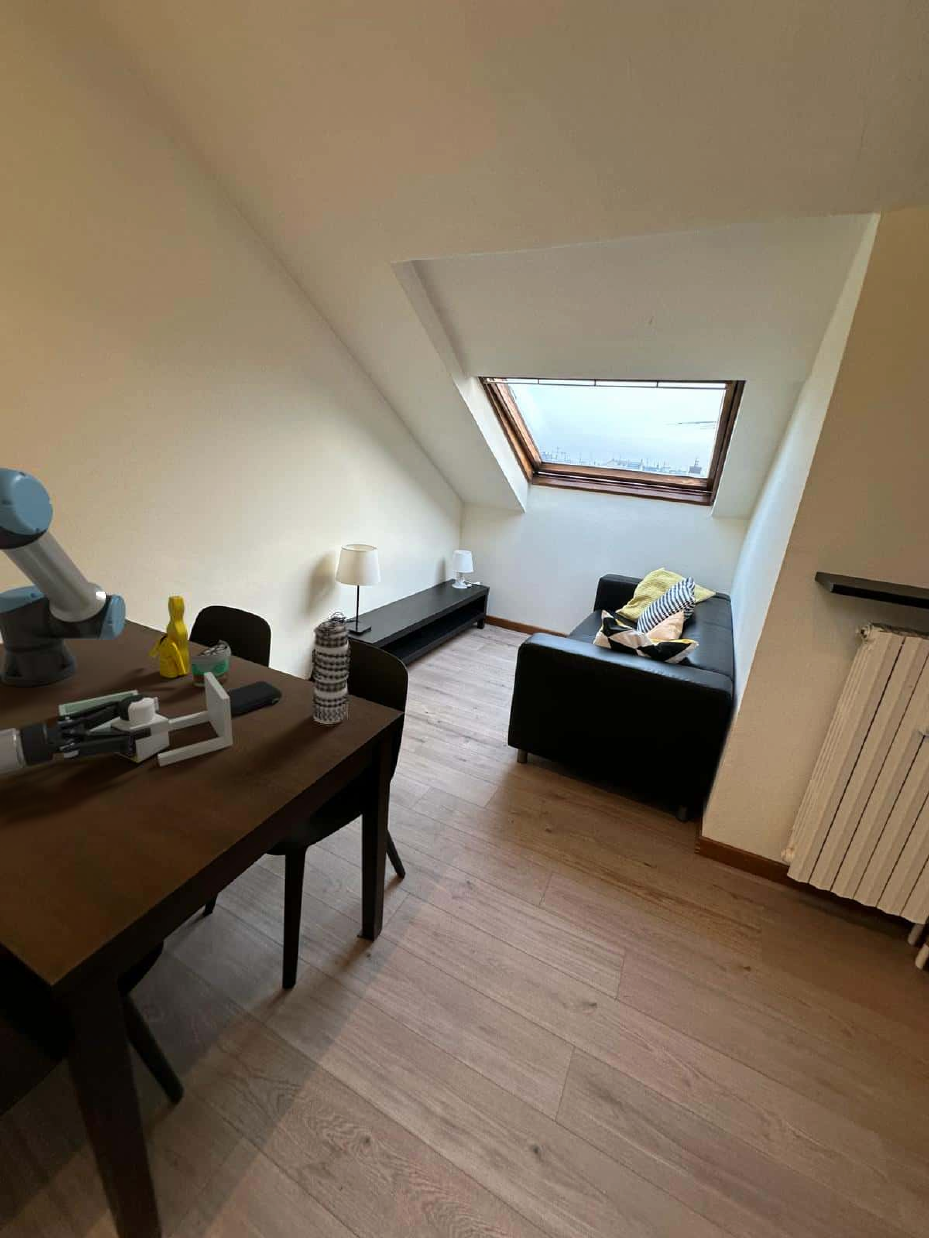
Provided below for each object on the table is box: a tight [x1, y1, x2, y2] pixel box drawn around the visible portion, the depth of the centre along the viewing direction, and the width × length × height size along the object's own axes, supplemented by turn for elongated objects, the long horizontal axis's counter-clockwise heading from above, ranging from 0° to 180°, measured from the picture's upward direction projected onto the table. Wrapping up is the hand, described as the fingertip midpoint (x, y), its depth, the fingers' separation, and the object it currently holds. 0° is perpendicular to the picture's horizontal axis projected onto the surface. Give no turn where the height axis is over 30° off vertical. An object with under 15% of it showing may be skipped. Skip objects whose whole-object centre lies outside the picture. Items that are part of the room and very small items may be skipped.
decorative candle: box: [311, 620, 352, 724], centre depth 119 cm, size 9×9×25 cm
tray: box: [58, 689, 139, 732], centre depth 111 cm, size 15×15×2 cm
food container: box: [189, 639, 232, 690], centre depth 131 cm, size 12×6×10 cm, turn 168°
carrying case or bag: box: [225, 680, 283, 717], centre depth 125 cm, size 11×3×15 cm
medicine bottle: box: [110, 694, 170, 763], centre depth 100 cm, size 7×7×12 cm
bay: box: [157, 672, 234, 767], centre depth 106 cm, size 14×14×12 cm
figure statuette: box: [148, 595, 191, 679], centre depth 132 cm, size 18×8×22 cm, turn 58°
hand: (163, 713), depth 103 cm, fingers closed on medicine bottle, 9 cm apart
